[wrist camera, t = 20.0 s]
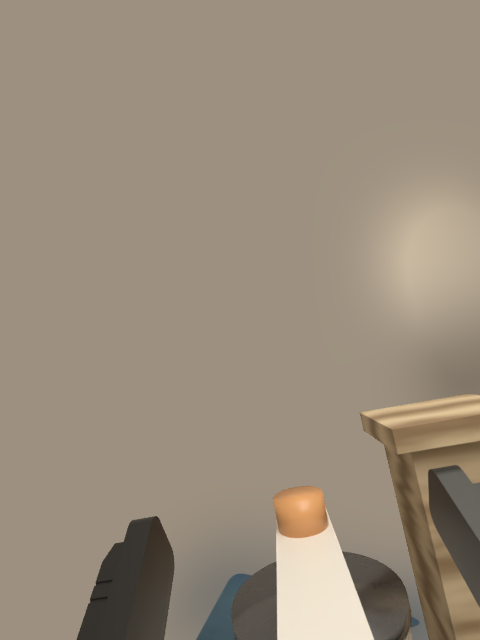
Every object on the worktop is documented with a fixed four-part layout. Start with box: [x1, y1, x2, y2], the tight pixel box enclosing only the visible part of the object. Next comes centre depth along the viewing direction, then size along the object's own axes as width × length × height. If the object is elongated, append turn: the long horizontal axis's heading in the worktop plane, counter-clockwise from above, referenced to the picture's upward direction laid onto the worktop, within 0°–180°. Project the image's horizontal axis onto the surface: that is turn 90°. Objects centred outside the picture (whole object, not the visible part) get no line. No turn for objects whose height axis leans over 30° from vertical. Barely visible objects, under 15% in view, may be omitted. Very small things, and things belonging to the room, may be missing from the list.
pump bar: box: [273, 486, 374, 640], centre depth 25 cm, size 20×4×6 cm, turn 175°
